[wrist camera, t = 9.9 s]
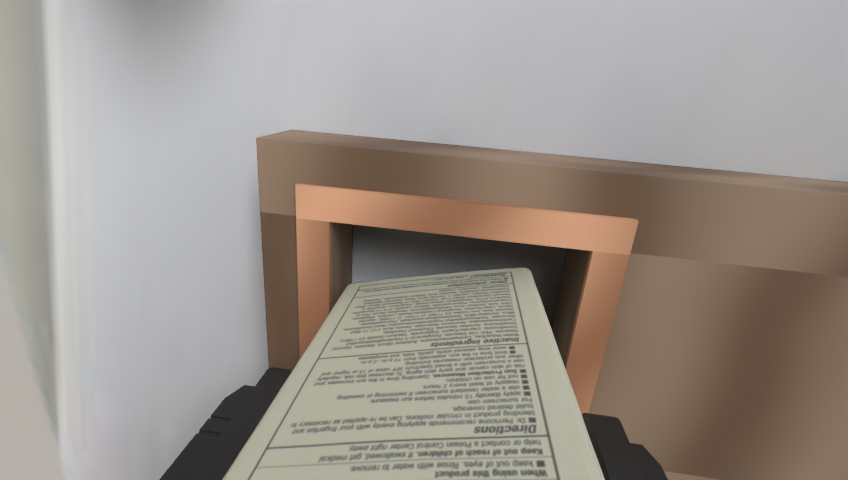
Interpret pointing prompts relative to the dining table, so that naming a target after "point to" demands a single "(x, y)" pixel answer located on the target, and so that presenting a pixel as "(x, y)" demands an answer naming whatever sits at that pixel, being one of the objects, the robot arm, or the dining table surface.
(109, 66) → the dining table surface
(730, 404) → the socket board
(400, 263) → the dining table surface
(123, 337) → the dining table surface
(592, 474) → the skincare box
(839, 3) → the dining table surface
